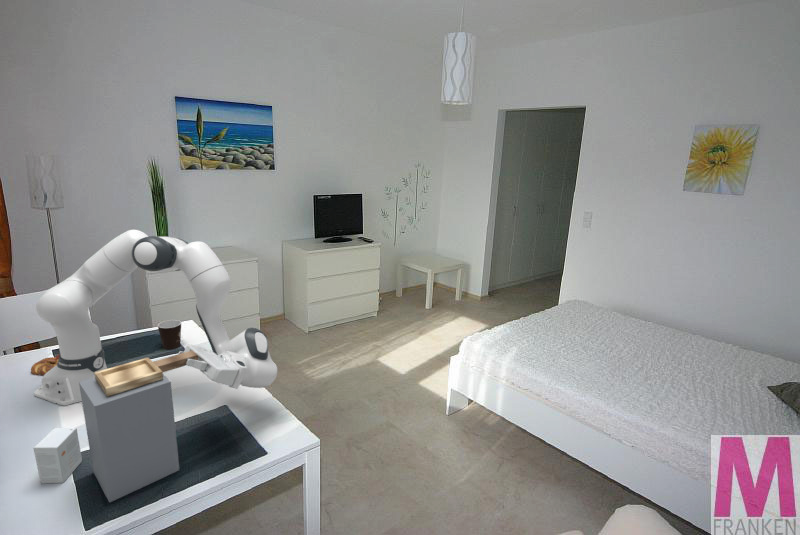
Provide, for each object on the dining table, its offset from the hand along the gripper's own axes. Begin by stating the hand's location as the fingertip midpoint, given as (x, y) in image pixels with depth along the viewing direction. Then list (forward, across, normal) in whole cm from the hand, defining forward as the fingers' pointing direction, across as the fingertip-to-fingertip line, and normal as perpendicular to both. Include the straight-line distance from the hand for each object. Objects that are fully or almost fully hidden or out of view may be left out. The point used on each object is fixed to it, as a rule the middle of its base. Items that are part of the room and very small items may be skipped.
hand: (182, 358), depth 118 cm
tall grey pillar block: (-2, 0, +31) cm, 31 cm away
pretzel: (+2, -76, +34) cm, 84 cm away
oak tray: (+6, 0, +5) cm, 8 cm away
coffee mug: (-32, -69, +14) cm, 77 cm away
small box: (+10, -12, +38) cm, 41 cm away
